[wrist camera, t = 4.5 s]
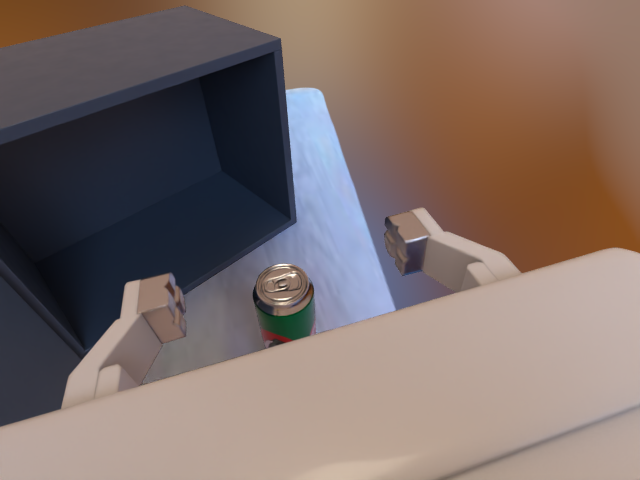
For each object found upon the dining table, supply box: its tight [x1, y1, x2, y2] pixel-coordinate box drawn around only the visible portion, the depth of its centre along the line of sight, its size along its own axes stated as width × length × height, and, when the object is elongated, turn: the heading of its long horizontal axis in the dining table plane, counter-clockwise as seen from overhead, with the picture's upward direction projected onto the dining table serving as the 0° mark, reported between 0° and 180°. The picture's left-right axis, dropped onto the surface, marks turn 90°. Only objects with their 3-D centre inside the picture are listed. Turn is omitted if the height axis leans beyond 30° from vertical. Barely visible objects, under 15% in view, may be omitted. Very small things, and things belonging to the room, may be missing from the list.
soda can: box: [253, 264, 316, 349], centre depth 35 cm, size 5×5×12 cm
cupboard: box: [0, 6, 297, 360], centre depth 42 cm, size 18×30×24 cm, turn 134°
